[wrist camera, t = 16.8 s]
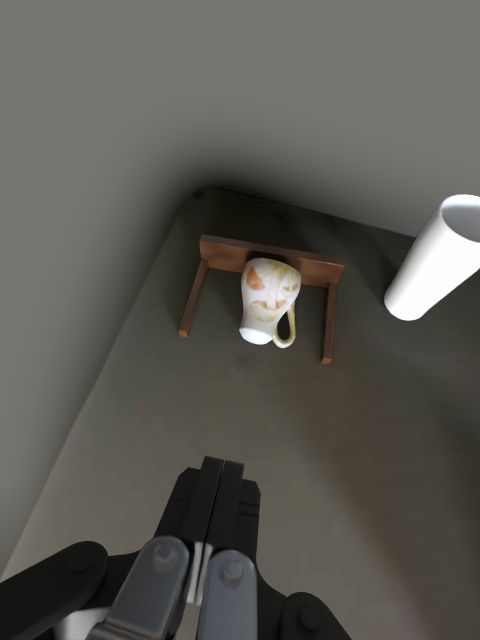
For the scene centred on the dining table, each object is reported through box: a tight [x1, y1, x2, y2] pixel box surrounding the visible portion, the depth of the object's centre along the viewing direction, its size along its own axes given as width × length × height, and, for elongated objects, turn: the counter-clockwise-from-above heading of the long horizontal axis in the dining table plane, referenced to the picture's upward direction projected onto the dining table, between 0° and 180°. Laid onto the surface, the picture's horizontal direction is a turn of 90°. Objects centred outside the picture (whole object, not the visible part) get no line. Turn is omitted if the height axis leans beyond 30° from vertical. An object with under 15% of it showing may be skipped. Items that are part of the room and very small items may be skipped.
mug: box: [239, 258, 301, 348], centre depth 41 cm, size 8×10×10 cm
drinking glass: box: [384, 194, 480, 320], centre depth 38 cm, size 7×7×15 cm
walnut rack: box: [178, 234, 346, 365], centre depth 42 cm, size 18×12×5 cm
